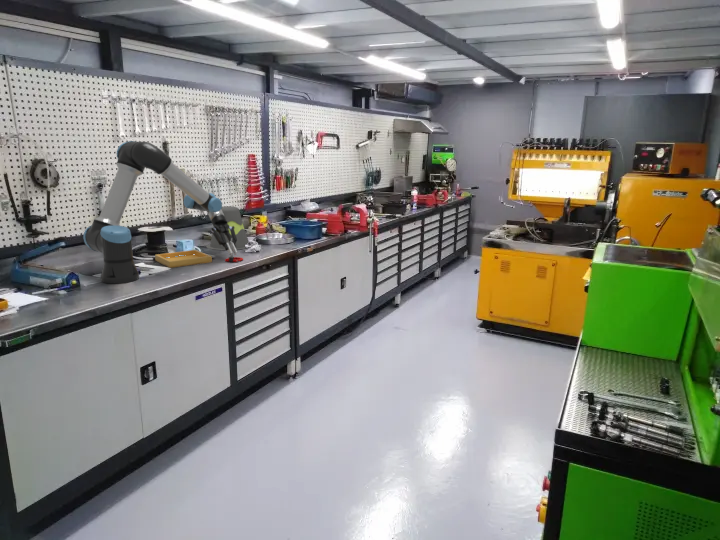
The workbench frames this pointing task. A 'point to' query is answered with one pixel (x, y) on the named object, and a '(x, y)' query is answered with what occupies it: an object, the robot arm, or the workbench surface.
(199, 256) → the parts tray
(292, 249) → the workbench surface
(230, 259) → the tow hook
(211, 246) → the gray green truncated cone
